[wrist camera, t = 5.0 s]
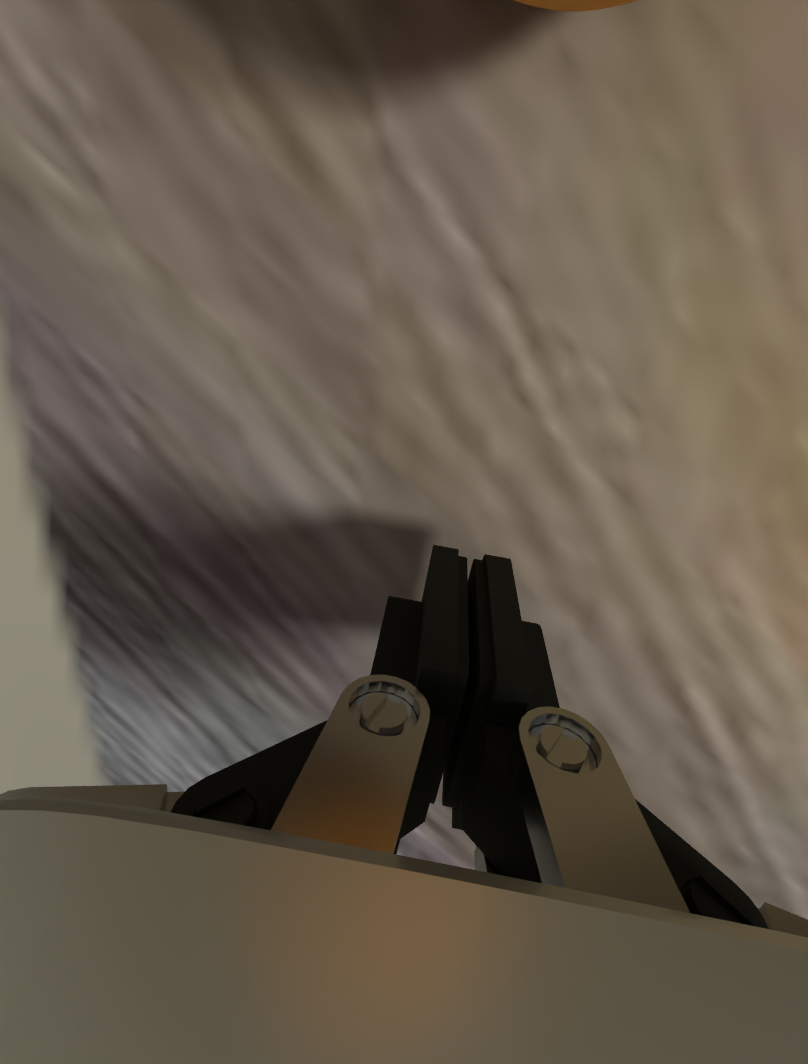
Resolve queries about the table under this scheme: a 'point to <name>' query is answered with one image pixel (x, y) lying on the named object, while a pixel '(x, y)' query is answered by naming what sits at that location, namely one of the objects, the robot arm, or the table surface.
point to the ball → (574, 4)
